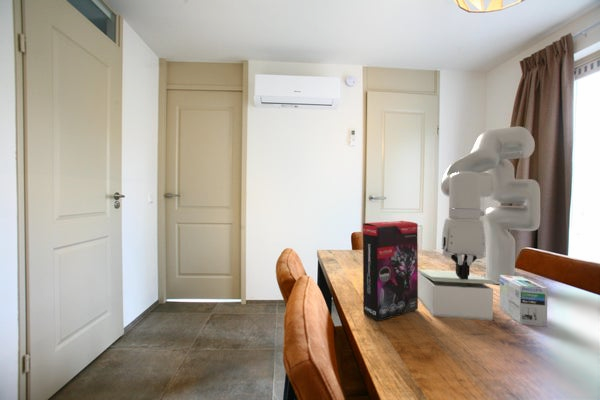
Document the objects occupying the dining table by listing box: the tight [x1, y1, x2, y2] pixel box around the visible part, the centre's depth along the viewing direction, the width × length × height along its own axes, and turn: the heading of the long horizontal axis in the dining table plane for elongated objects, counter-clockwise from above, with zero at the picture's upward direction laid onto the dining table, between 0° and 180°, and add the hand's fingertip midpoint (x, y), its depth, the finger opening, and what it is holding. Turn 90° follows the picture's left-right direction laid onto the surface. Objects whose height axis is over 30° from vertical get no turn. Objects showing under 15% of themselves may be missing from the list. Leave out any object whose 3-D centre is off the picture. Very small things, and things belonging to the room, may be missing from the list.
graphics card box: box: [362, 220, 419, 322], centre depth 77 cm, size 17×7×27 cm, turn 117°
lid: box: [418, 268, 494, 285], centre depth 80 cm, size 16×14×1 cm
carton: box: [418, 272, 494, 321], centre depth 80 cm, size 16×14×9 cm
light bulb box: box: [498, 275, 549, 327], centre depth 75 cm, size 11×7×11 cm, turn 168°
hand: (462, 277), depth 74 cm, fingers closed
